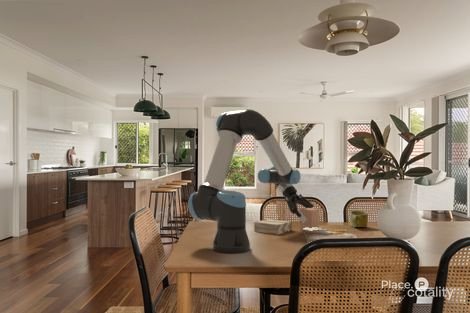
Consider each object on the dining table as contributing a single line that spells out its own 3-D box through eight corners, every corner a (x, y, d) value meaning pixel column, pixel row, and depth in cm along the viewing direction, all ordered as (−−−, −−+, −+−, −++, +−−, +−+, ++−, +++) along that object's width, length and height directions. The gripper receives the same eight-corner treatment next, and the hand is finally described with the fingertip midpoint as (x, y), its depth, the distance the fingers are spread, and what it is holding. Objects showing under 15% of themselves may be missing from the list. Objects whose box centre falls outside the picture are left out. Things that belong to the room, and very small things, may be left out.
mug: (353, 220, 201) (356, 205, 198) (369, 228, 194) (373, 212, 190) (341, 227, 193) (344, 211, 190) (357, 236, 186) (361, 219, 183)
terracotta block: (311, 231, 179) (311, 210, 179) (300, 230, 184) (299, 209, 184) (318, 229, 184) (318, 208, 185) (306, 228, 189) (306, 207, 189)
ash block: (277, 235, 172) (277, 225, 172) (254, 231, 181) (254, 222, 181) (291, 231, 183) (291, 221, 183) (269, 227, 192) (269, 218, 192)
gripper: (295, 192, 205) (318, 221, 194) (270, 195, 186) (294, 227, 176) (303, 184, 201) (327, 212, 191) (278, 186, 183) (303, 218, 173)
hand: (311, 220), depth 183 cm, fingers open, 13 cm apart
